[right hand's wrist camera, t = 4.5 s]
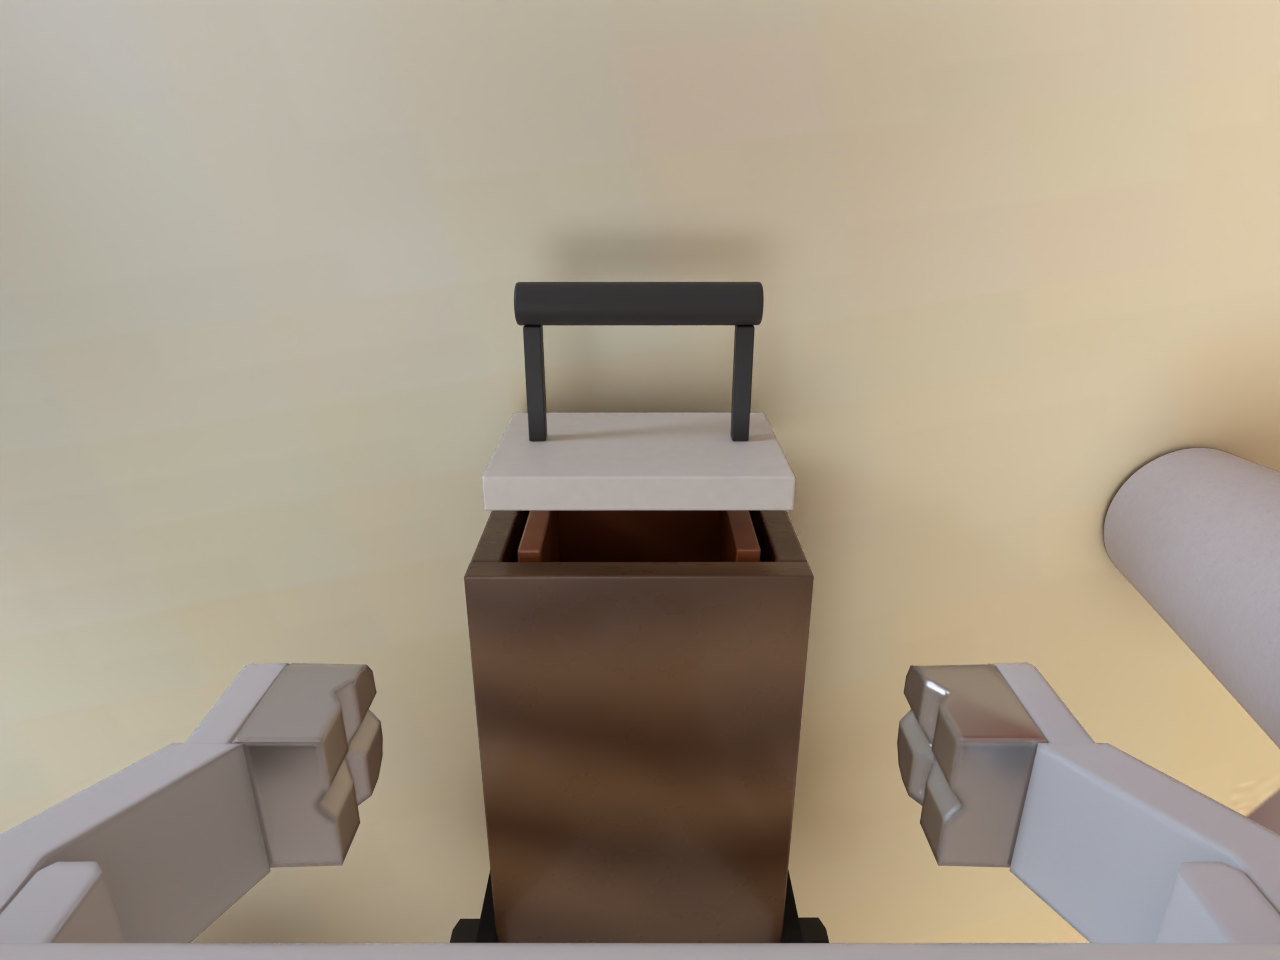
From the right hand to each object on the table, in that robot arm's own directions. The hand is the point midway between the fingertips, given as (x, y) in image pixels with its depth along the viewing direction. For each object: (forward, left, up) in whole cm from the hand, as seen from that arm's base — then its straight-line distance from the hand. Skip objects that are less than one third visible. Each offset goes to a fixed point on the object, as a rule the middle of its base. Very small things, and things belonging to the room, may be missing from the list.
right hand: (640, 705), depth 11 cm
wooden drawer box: (+17, -2, -23) cm, 29 cm away
